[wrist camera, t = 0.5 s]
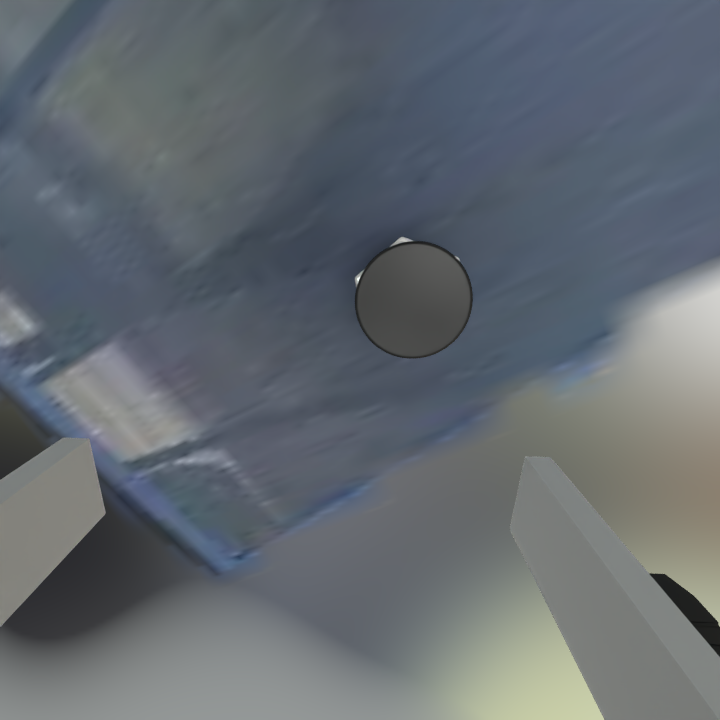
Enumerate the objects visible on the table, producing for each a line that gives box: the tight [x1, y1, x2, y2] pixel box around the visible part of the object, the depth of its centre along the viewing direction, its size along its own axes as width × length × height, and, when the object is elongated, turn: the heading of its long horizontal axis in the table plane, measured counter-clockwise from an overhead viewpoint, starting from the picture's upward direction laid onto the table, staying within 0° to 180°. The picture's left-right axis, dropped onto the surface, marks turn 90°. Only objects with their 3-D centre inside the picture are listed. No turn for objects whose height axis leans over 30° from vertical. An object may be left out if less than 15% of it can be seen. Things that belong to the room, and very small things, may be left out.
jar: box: [355, 237, 473, 358], centre depth 31 cm, size 9×8×12 cm
